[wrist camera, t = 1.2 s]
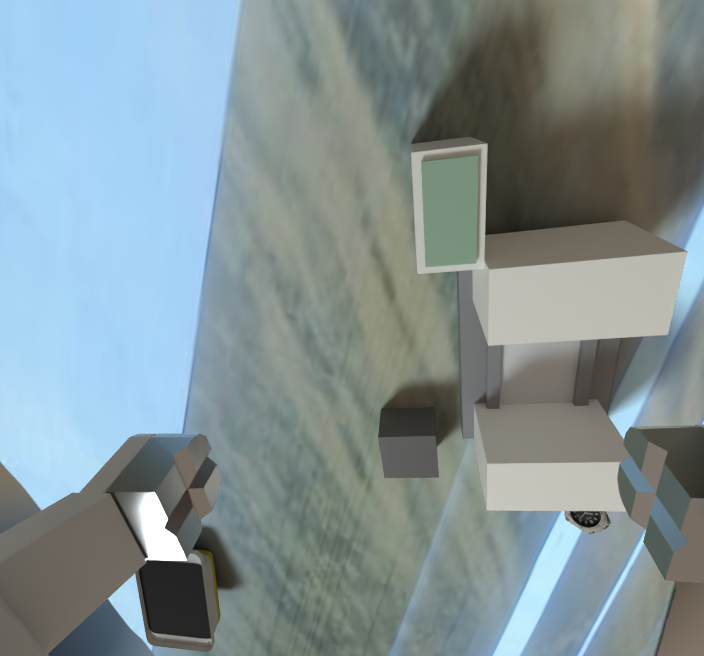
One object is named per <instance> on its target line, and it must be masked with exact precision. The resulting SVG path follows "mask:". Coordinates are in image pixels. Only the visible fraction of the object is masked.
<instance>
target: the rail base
mask: <svg viewBox="0 0 704 656" xmlns="http://www.w3.org/2000/svg"><path fill="white" fill-rule="evenodd" d="M686 255H687V251H685V250H683V249H681V248H679V247H677V246H675V245H673V244H671V243H669V242H667V241H665V240H663V239H661V238H659V237H657V236H655V235H653V234H651V233H649V232H647V231H645V230H643V229H641V228H639V227H637V226H635V225H633V224H631V223H629V222H627V221H625V220H624V221H615V222H605V223H596V224H586V225H577V226H567V227H558V228H548V229H539V230H530V231H520V232H511V233H501V234H492V235H485V256H484V269H478V270H464V271H457V295H458V330H459V364H460V398H461V428H462V434H463V438H474V447H475V452H476V457H477V462H478V467H479V472H480V478H481V483H482V488H483V493H484V498H485V503H486V508H487V510H511V511H626V509H625V507H624V505H623V502H622V500H621V497H620V494H619V488H618V480H617V476H618V469H619V463H621V462H622V461H623V460H624V459H625V458H627V457H628V456H629V455H630V454H629V453H628V451H627V450H626V448H625V447H624V445H623V443H624V439H623V438H622V436H621V435H620V433H619V432H618V430H617V429H616V427H615V426H614V424H613V423H612V421H611V420H610V418H609V417H608V415H607V414H608V408H609V402H610V396H611V391H612V385H613V379H614V374H615V368H616V362H617V356H618V351H619V345H620V339H621V338H625V337H642V336H659V335H668V332H669V328H670V324H671V319H672V315H673V311H674V307H675V302H676V298H677V294H678V289H679V285H680V281H681V277H682V272H683V268H684V264H685V259H686Z"/></svg>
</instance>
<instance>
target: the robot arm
mask: <svg viewBox="0 0 704 656" xmlns="http://www.w3.org/2000/svg"><path fill="white" fill-rule="evenodd" d="M623 445H624V447H625V448H626V450H627V451H628V453H629V454H630V455H629V456H628V457H627V458H625V459H624V460H623V461H622V462H621V463H619V469H618V476H617V480H618V488H619V494H620V497H621V500H622V502H623V505H624V507H625V509H626V511H627V513H628V515H629V517H630V518H631V519H632V520H633V521H635V522H636V523H638V524H639V525H640V526H642V527H643V528H645V529H646V533H645V537H644V541H643V542H644V544H645V545H646V547H647V549H648V551H649V553H650V554H651V556H652V558H653V560H654V561H655V563H656V565H657V567H658V568H659V570H660V572H661V574H662V576H663V577H664V579H665V580H668V581H684V582H699V583H704V425H695V426H653V427H630V428H629V429H628V431H627V432H626V434H625V439H624V443H623ZM210 450H211V447H210V445H209V442H208V440H207V438H206V436H203V435H201V434H136V435H134V436H132V437H130V438H129V439H128V440H127V441H126V442H125V443H124V444H123V445H122V446H121V447H120V449H119V450H118V451H117V452H116V453H115V454H114V455H113V456H112V457H111V458H110V460H109V461H108V462H107V463H106V464H105V465H104V466H103V467H102V468H101V469H100V471H99V472H98V473H97V474H96V475H95V476H94V477H93V478H92V479H91V480H90V482H89V483H88V484H87V485H86V486H85V487H84V488H83V489H82V490H81V491H80V493H71V494H70V495H68V496H66V497H64V498H63V499H61V500H59V501H57V502H56V503H54V504H52V505H50V506H49V507H47V508H45V509H44V510H42V511H40V512H38V513H37V514H35V515H33V516H31V517H30V518H28V519H26V520H24V521H23V522H21V523H19V524H18V525H16V526H14V527H12V528H11V529H9V530H8V531H6V532H4V533H2V534H0V656H49V655H48V653H49V652H50V651H51V650H52V649H53V648H54V647H55V646H56V645H57V644H59V643H60V642H61V641H62V640H63V639H64V638H65V637H66V636H67V635H68V634H70V633H71V632H72V631H73V630H74V629H75V628H76V627H77V626H78V625H79V624H80V623H81V622H83V621H84V620H85V619H86V618H87V617H88V616H89V615H90V614H91V613H92V612H93V611H94V610H95V609H97V608H98V607H99V606H100V605H101V604H102V603H103V602H104V601H105V600H106V599H107V598H109V597H110V596H111V595H112V594H113V593H114V592H115V591H116V590H117V589H118V588H119V587H120V586H122V585H123V584H124V583H125V582H126V581H127V580H128V579H129V578H130V577H131V576H132V575H133V574H135V573H136V572H137V571H138V570H139V569H140V568H141V567H142V566H143V565H144V564H145V563H146V562H147V561H146V560H187V558H188V556H189V555H190V553H191V551H192V549H193V547H194V545H195V543H196V541H197V539H198V537H199V535H200V533H201V531H202V530H203V529H202V525H201V519H202V518H203V517H205V516H206V515H207V514H208V513H210V512H211V511H212V510H213V508H214V506H215V504H216V502H217V500H218V497H219V491H220V486H221V479H220V472H219V469H218V466H217V464H216V463H215V462H213V461H212V460H211V459H210V458H209V457H207V456H208V454H209V452H210Z"/></svg>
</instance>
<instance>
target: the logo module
mask: <svg viewBox="0 0 704 656" xmlns="http://www.w3.org/2000/svg"><path fill="white" fill-rule="evenodd" d="M411 160H412V180H413V199H414V219H415V238H416V256H417V274H422V273H436V272H450V271H464V270H478V269H484V256H485V218H486V181H487V143H485V142H482V141H480V140H477V139H475V138H472V137H463V138H455V139H447V140H439V141H431V142H423V143H415V144H411Z"/></svg>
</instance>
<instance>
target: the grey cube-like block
mask: <svg viewBox="0 0 704 656" xmlns="http://www.w3.org/2000/svg"><path fill="white" fill-rule="evenodd" d="M378 439H379V445H380V451H381V458H382V464H383V470H384V477H385V478H426V477H439V472H438V459H437V446H436V432H435V421H434V409H433V407H430V408H405V409H381V414H380V425H379V436H378Z"/></svg>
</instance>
